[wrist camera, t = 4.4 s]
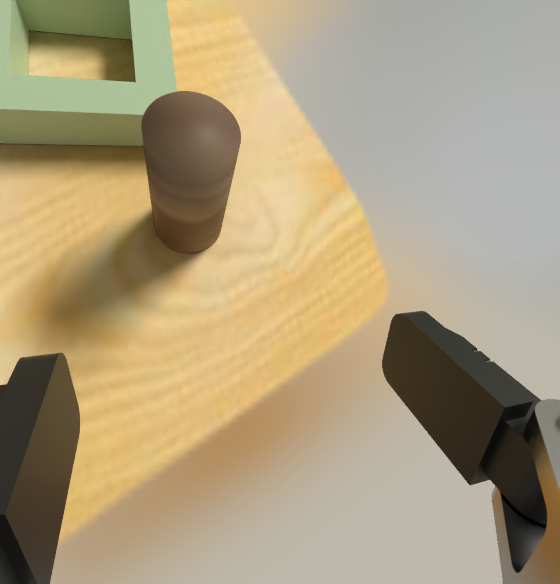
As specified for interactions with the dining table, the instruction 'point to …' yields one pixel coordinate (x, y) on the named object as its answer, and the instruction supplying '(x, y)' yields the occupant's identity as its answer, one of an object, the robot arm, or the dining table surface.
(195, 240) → the walnut pin
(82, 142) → the socket block
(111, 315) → the dining table surface
